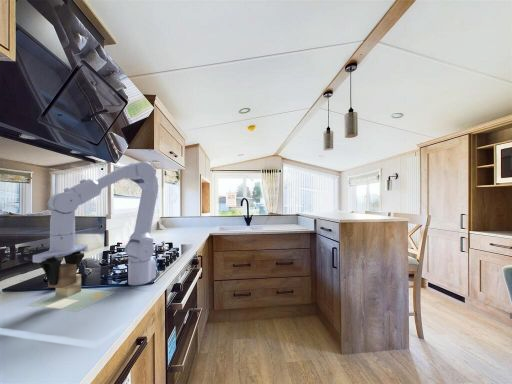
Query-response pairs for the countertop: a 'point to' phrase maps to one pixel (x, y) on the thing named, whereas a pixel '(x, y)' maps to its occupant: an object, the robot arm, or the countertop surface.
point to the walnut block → (65, 276)
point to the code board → (73, 300)
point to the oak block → (70, 288)
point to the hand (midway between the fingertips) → (62, 281)
